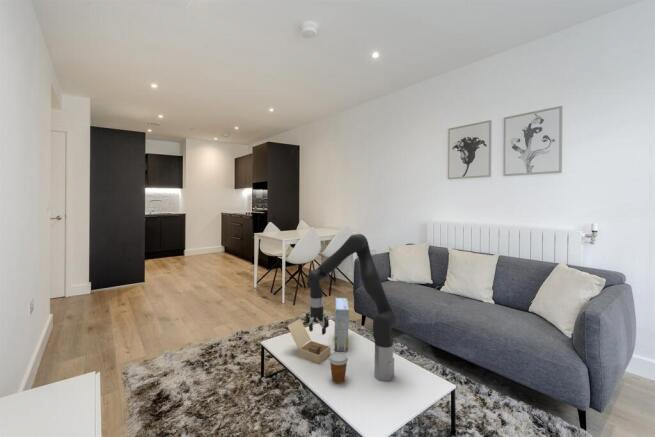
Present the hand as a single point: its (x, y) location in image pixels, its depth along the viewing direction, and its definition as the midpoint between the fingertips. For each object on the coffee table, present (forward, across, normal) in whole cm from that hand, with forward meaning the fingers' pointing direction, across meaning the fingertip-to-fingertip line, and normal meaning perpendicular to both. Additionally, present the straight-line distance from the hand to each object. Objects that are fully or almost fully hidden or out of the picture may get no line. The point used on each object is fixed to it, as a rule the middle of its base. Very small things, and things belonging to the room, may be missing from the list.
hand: (317, 332), depth 173 cm
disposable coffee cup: (+15, -21, +12) cm, 28 cm away
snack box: (+15, -3, -22) cm, 27 cm away
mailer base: (+14, +2, 0) cm, 15 cm away
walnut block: (+14, +2, 0) cm, 14 cm away
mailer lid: (+3, +13, 0) cm, 14 cm away
